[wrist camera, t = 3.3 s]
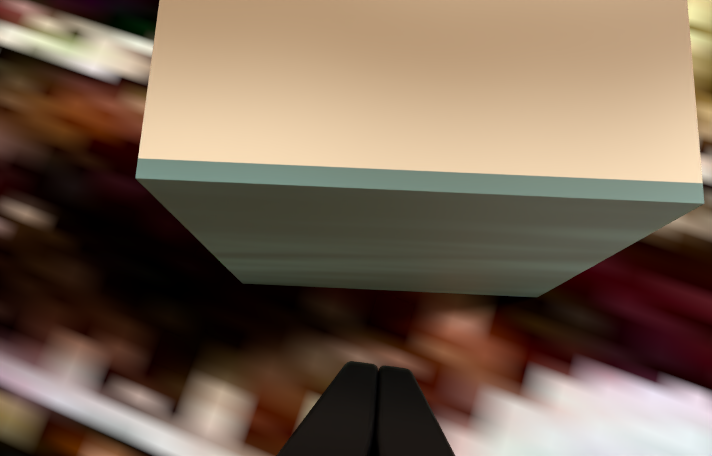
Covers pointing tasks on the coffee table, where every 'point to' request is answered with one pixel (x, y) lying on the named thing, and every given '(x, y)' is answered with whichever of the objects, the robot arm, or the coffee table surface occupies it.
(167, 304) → the coffee table surface
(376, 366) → the robot arm
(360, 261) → the tile
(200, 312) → the coffee table surface
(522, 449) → the coffee table surface
